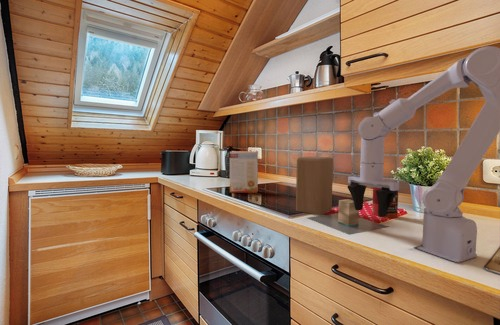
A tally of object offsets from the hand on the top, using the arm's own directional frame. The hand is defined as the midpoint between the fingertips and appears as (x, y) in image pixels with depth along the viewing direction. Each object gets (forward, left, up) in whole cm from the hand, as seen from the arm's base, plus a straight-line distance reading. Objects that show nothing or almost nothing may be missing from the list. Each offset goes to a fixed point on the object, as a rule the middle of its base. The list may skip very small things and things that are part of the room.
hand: (370, 212), depth 74 cm
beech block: (+8, 0, -5) cm, 9 cm away
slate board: (+10, -1, -6) cm, 11 cm away
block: (+26, -2, -6) cm, 26 cm away
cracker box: (+75, +3, -6) cm, 75 cm away
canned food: (+11, -20, -6) cm, 23 cm away
